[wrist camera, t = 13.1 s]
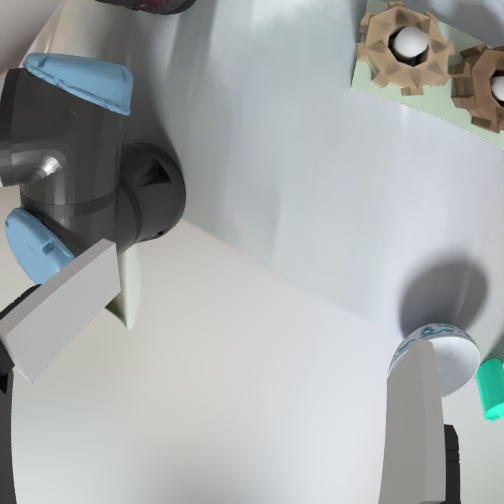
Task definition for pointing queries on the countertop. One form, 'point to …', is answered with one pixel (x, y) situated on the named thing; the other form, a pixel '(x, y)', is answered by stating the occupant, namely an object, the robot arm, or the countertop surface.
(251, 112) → the countertop surface
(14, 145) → the robot arm
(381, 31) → the maple gear
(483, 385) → the candle
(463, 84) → the walnut gear
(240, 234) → the countertop surface
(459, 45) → the gear board
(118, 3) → the camera lens
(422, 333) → the chinaware
